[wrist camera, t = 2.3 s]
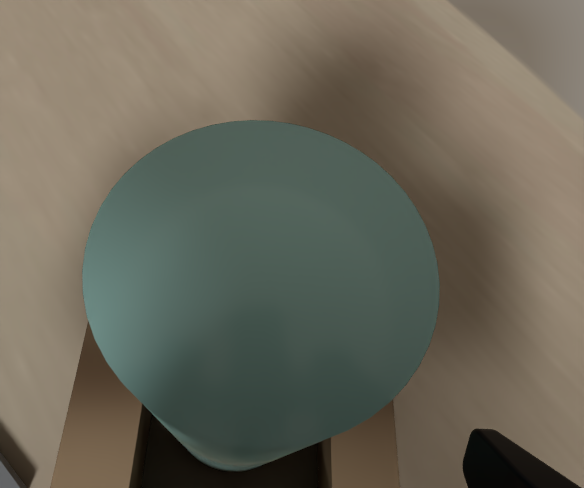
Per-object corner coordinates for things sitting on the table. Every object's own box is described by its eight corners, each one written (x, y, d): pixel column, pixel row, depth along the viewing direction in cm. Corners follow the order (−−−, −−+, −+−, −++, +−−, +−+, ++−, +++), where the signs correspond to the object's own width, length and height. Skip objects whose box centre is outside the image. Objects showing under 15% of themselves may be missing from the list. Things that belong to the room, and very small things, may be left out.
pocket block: (382, 573, 16) (408, 587, 14) (55, 575, 15) (26, 590, 13) (365, 284, 21) (381, 261, 19) (119, 266, 20) (106, 240, 18)
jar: (321, 404, 19) (501, 265, 7) (233, 503, 17) (268, 553, 5) (239, 320, 20) (271, 76, 8) (148, 403, 18) (2, 244, 6)
